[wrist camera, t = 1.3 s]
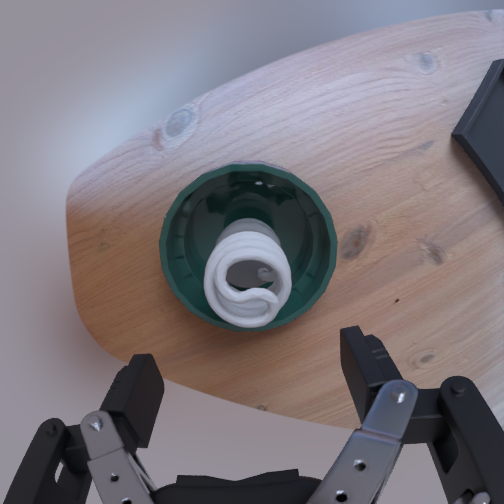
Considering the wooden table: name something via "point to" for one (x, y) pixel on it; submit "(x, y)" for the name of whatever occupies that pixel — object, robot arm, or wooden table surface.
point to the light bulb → (247, 274)
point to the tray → (486, 128)
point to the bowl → (239, 207)
